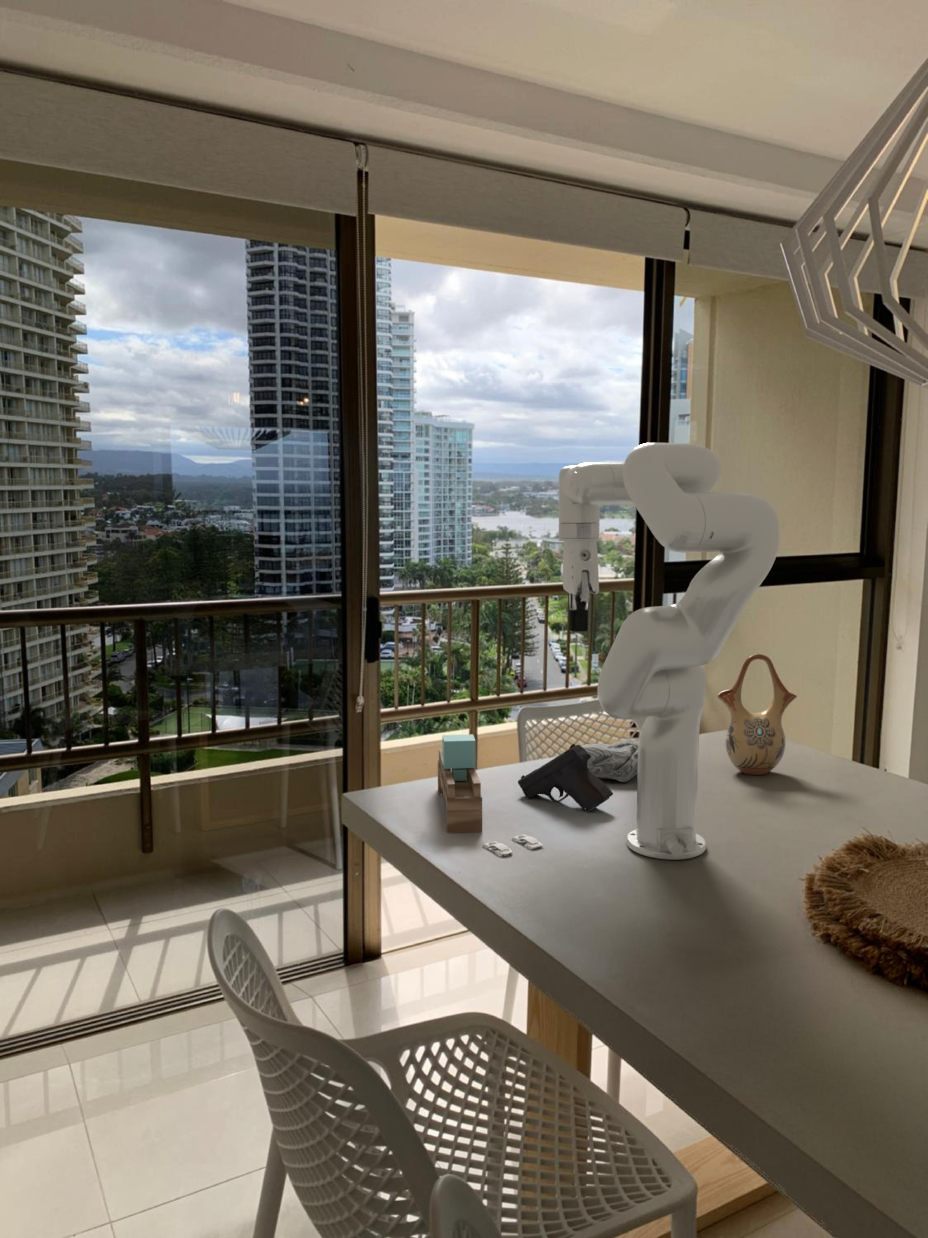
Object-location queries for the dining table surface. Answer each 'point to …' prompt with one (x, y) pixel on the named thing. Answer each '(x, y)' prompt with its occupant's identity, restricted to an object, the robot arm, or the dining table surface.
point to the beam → (460, 799)
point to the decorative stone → (614, 760)
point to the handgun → (567, 780)
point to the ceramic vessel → (756, 725)
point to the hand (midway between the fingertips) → (578, 630)
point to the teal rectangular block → (459, 754)
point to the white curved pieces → (505, 850)
